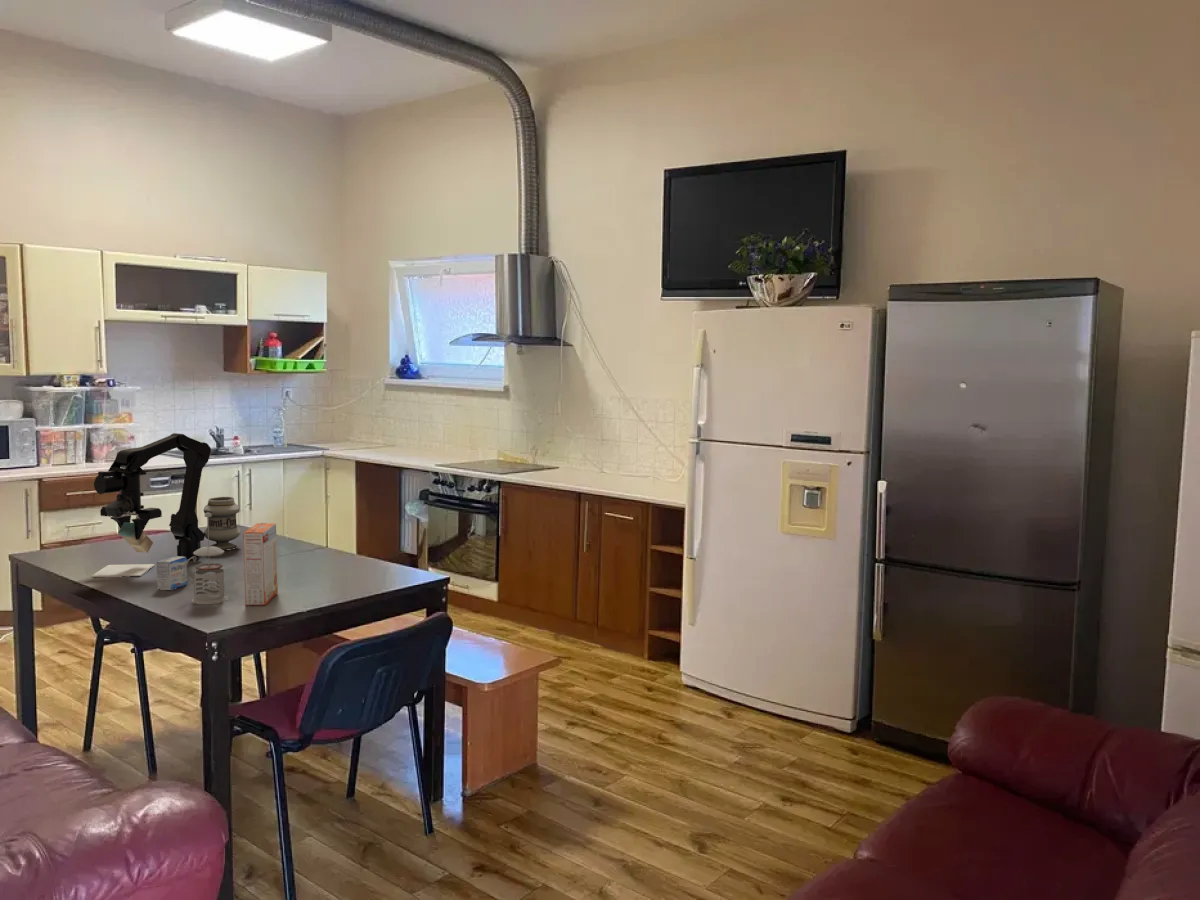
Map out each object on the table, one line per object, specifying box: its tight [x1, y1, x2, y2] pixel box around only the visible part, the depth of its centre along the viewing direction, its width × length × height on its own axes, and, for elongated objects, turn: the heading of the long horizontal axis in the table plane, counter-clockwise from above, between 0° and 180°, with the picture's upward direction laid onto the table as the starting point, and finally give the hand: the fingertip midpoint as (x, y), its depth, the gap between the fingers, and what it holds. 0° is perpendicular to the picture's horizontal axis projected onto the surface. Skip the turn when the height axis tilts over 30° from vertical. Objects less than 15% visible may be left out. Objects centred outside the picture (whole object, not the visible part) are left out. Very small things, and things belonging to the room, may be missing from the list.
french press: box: [184, 512, 229, 605], centre depth 264 cm, size 10×12×25 cm
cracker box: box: [242, 522, 279, 607], centre depth 266 cm, size 14×6×21 cm, turn 5°
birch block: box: [117, 521, 154, 554], centre depth 299 cm, size 4×4×11 cm
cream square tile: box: [91, 563, 156, 579], centre depth 296 cm, size 14×15×1 cm
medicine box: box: [156, 555, 188, 591], centre depth 278 cm, size 8×4×9 cm, turn 168°
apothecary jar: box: [203, 496, 242, 550], centre depth 333 cm, size 12×12×18 cm
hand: (131, 539), depth 297 cm, fingers closed on birch block, 4 cm apart
